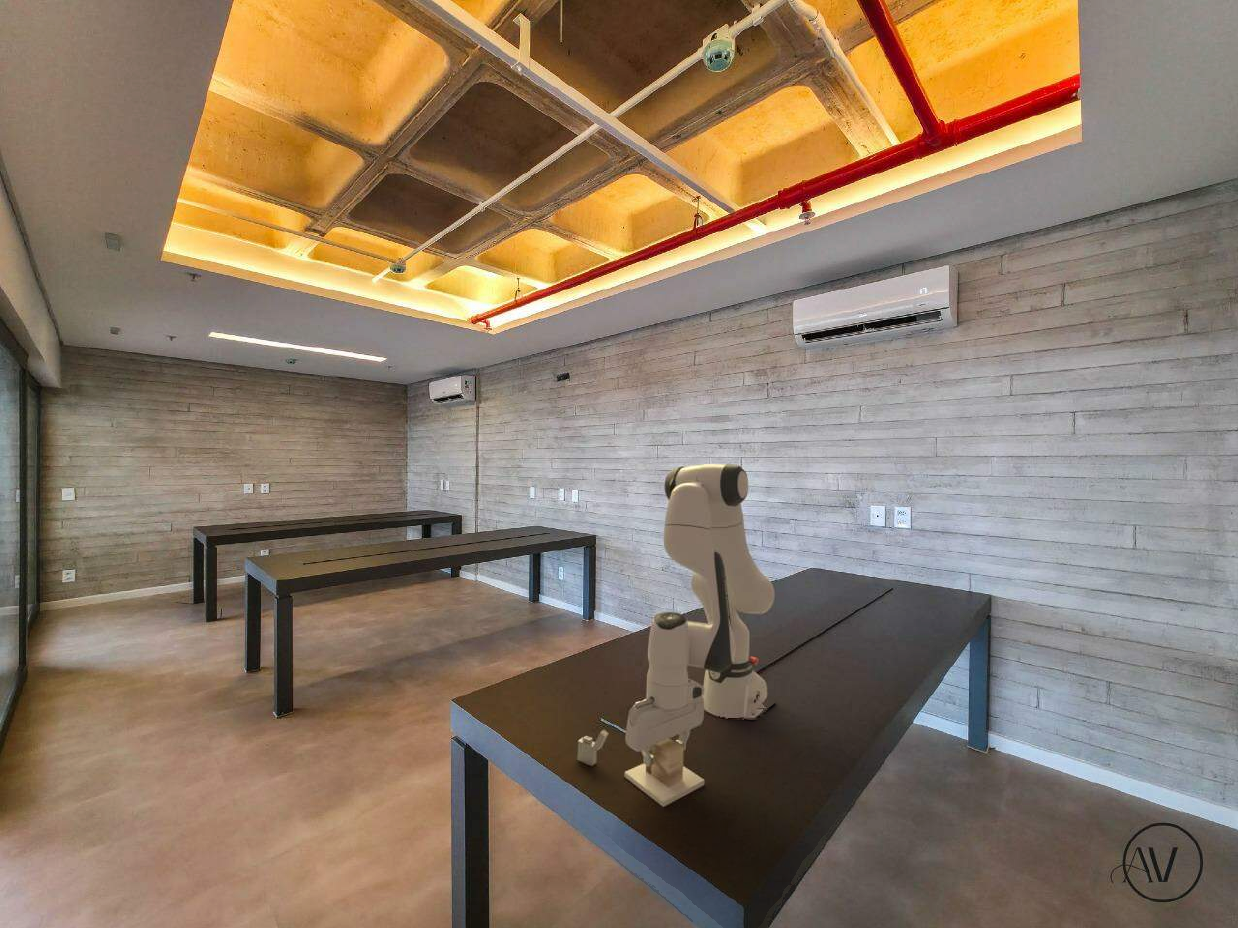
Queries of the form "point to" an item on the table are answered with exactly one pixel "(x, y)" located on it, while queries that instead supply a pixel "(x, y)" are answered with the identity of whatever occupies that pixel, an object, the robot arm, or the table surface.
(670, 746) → the block
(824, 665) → the table surface
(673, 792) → the tile
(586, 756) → the lighter
